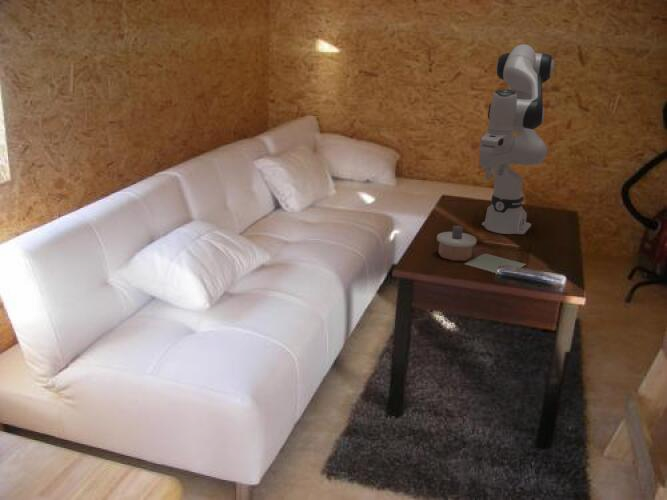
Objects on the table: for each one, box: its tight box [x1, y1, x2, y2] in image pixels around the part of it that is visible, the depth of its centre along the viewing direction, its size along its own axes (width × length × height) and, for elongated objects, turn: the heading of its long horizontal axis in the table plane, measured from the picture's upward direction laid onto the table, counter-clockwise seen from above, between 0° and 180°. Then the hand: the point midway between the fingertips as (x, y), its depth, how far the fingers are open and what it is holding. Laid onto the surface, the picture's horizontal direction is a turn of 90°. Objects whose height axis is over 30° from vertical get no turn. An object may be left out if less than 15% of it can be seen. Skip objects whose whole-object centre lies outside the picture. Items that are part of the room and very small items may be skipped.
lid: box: [436, 225, 477, 247], centre depth 232 cm, size 14×14×5 cm
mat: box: [464, 253, 527, 274], centre depth 227 cm, size 16×16×1 cm
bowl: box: [437, 242, 473, 261], centre depth 233 cm, size 11×11×6 cm
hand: (494, 177), depth 228 cm, fingers open, 8 cm apart
